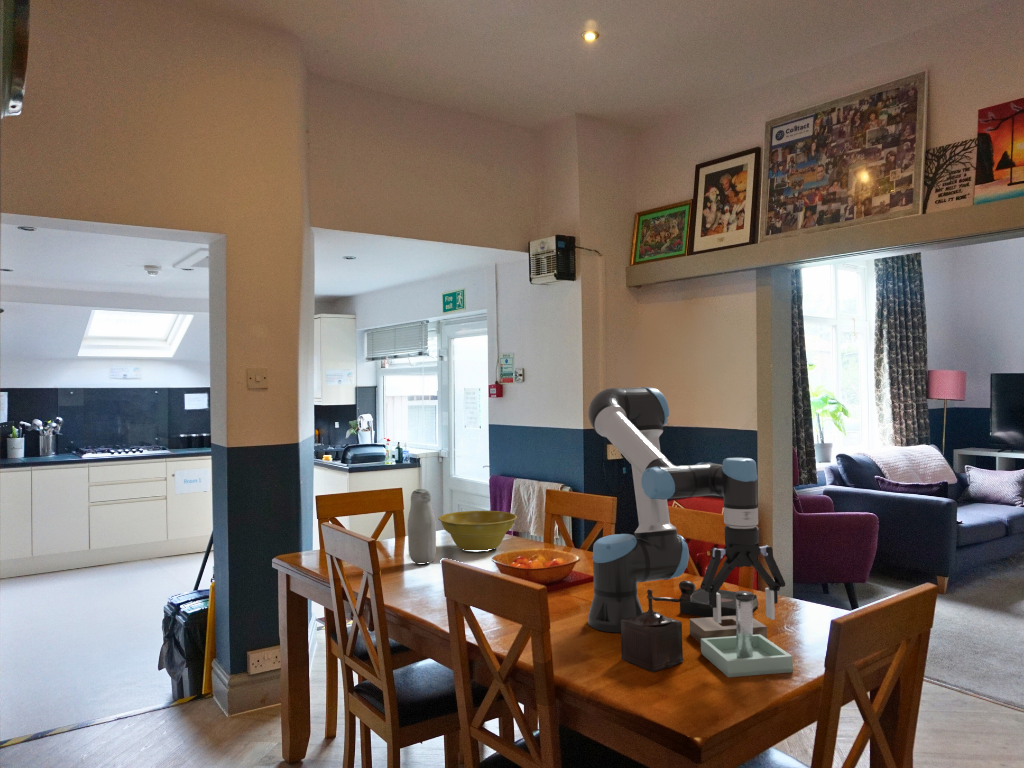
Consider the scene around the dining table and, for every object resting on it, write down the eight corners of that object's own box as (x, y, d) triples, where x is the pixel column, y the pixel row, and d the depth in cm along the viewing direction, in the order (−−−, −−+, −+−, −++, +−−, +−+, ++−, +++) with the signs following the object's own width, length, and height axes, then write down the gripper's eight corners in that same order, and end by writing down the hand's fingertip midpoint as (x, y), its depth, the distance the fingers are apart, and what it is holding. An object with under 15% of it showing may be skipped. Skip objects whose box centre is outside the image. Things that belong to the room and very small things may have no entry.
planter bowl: (532, 545, 302) (531, 513, 302) (489, 561, 275) (488, 525, 275) (469, 538, 319) (468, 508, 319) (422, 553, 292) (421, 519, 292)
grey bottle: (441, 562, 275) (439, 488, 275) (424, 568, 266) (422, 491, 266) (421, 559, 280) (419, 487, 280) (403, 565, 271) (401, 490, 272)
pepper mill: (654, 673, 161) (652, 592, 162) (620, 659, 170) (618, 582, 171) (701, 658, 170) (699, 581, 170) (666, 645, 179) (664, 572, 179)
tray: (728, 677, 158) (727, 661, 158) (701, 653, 173) (700, 638, 173) (792, 672, 160) (792, 656, 160) (760, 648, 175) (760, 634, 175)
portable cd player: (740, 624, 195) (740, 609, 195) (680, 614, 205) (679, 600, 205) (758, 609, 209) (758, 595, 209) (701, 600, 218) (701, 587, 219)
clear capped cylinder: (740, 662, 164) (739, 596, 164) (732, 655, 168) (732, 591, 168) (757, 661, 165) (756, 595, 165) (749, 654, 169) (748, 590, 169)
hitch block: (705, 647, 177) (704, 631, 177) (689, 634, 187) (689, 618, 187) (767, 642, 179) (766, 626, 179) (748, 630, 189) (748, 614, 189)
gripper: (696, 531, 162) (699, 628, 161) (799, 525, 165) (802, 621, 165) (684, 525, 169) (687, 618, 169) (782, 520, 173) (785, 611, 172)
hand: (744, 619), depth 167 cm, fingers open, 12 cm apart
